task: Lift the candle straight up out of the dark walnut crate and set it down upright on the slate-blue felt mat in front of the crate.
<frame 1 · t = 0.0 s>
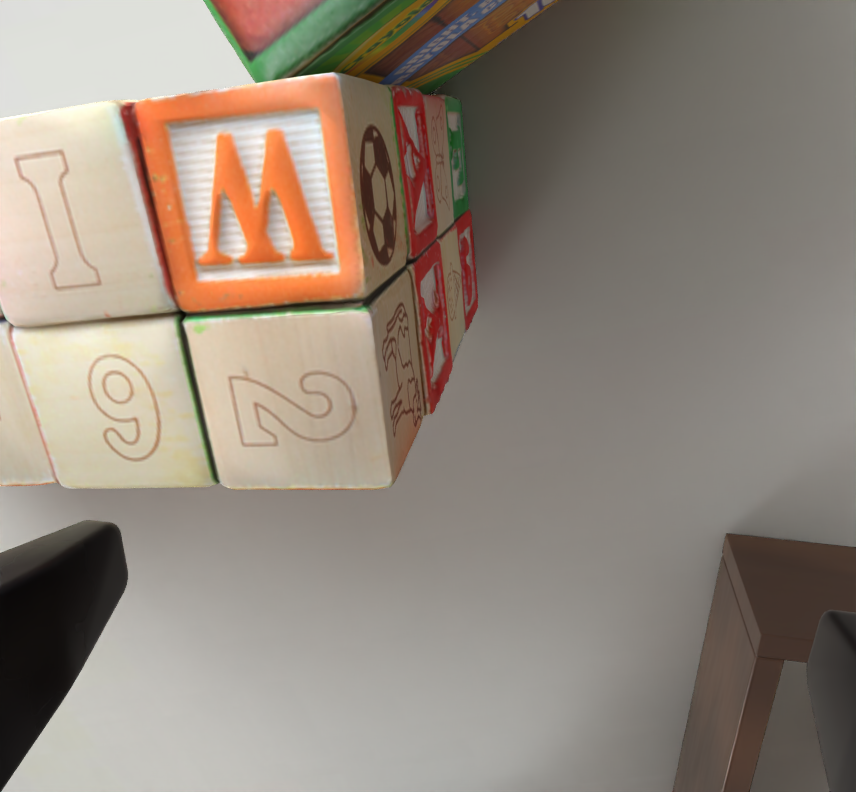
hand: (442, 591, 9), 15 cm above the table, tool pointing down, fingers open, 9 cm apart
stack of blocks: (157, 232, 24), on the table, touching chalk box
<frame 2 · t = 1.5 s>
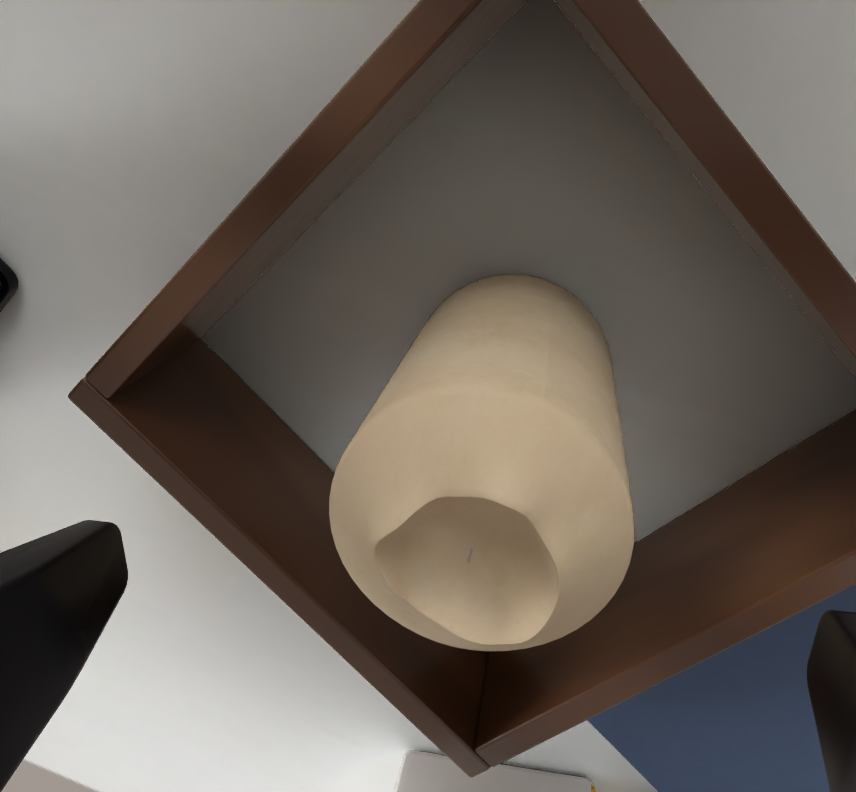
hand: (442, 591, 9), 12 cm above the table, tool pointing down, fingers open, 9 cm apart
candle: (512, 363, 21), resting in crate
crate: (512, 366, 21), on the table
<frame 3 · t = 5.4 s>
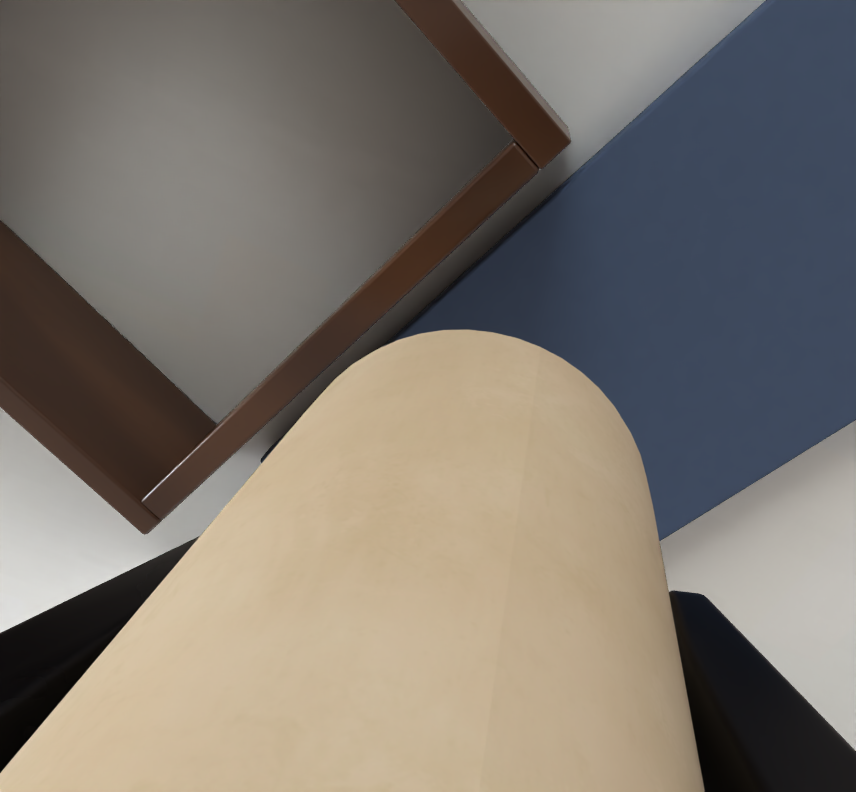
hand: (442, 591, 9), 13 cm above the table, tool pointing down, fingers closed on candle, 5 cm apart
candle: (468, 483, 12), point 10 cm above the table, touching gripper
mat: (606, 373, 21), on the table
crate: (184, 117, 20), on the table
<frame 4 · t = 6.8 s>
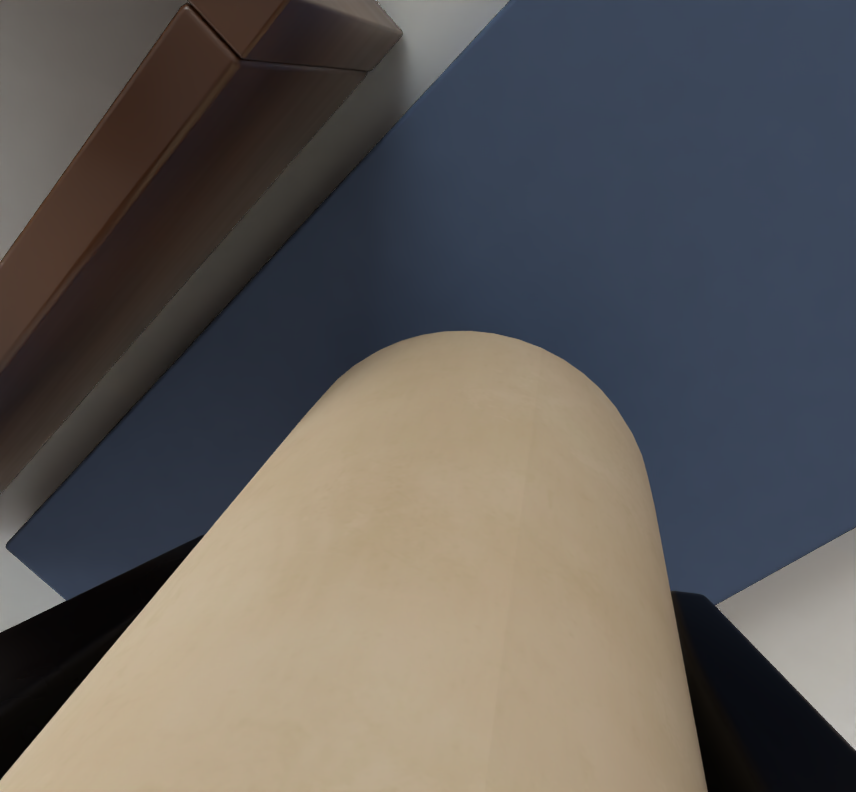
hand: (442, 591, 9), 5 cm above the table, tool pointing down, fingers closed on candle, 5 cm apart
candle: (470, 484, 12), point 2 cm above the table, touching gripper
mat: (492, 427, 14), on the table
when the fingers open (4 cm above the table, at t = 7.8 s): candle stays where it is, resting on mat.
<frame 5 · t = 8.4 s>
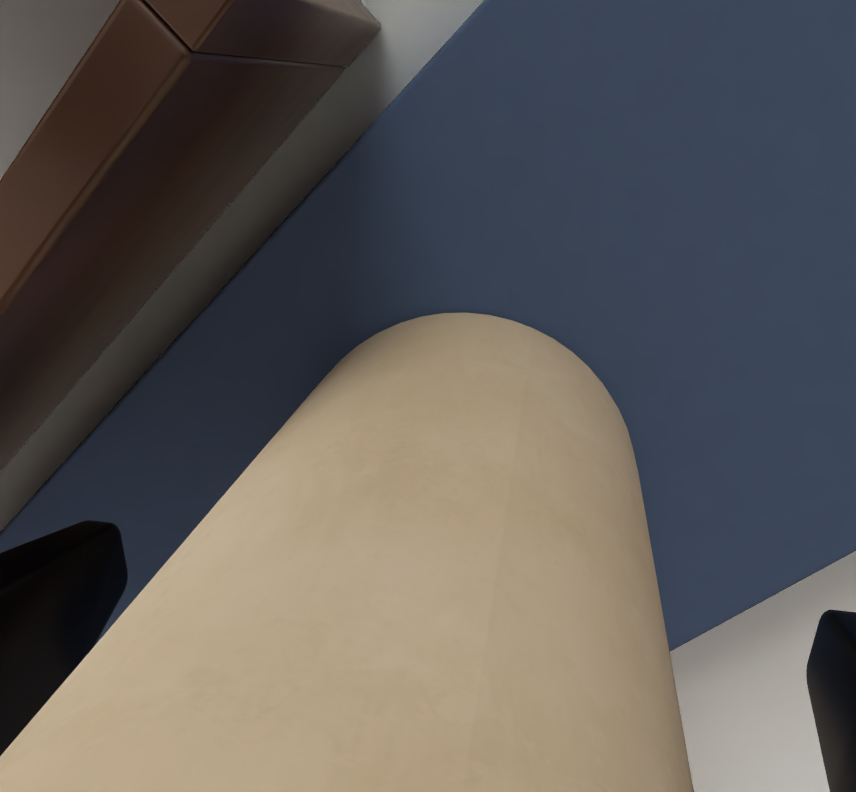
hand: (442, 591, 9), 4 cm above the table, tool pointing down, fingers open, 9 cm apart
candle: (467, 459, 12), point 1 cm above the table, touching mat
mat: (479, 441, 13), on the table
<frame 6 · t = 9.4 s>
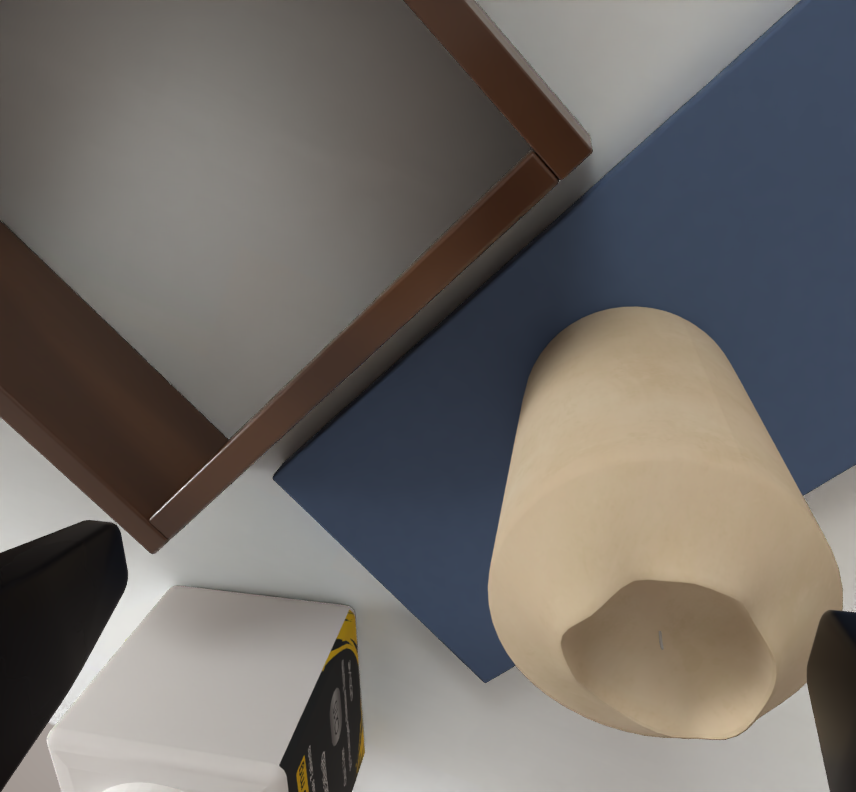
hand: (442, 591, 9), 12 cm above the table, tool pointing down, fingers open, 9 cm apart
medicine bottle: (273, 664, 27), on the table
candle: (626, 399, 20), point 1 cm above the table, touching mat
mat: (629, 390, 20), on the table
crate: (195, 128, 20), on the table
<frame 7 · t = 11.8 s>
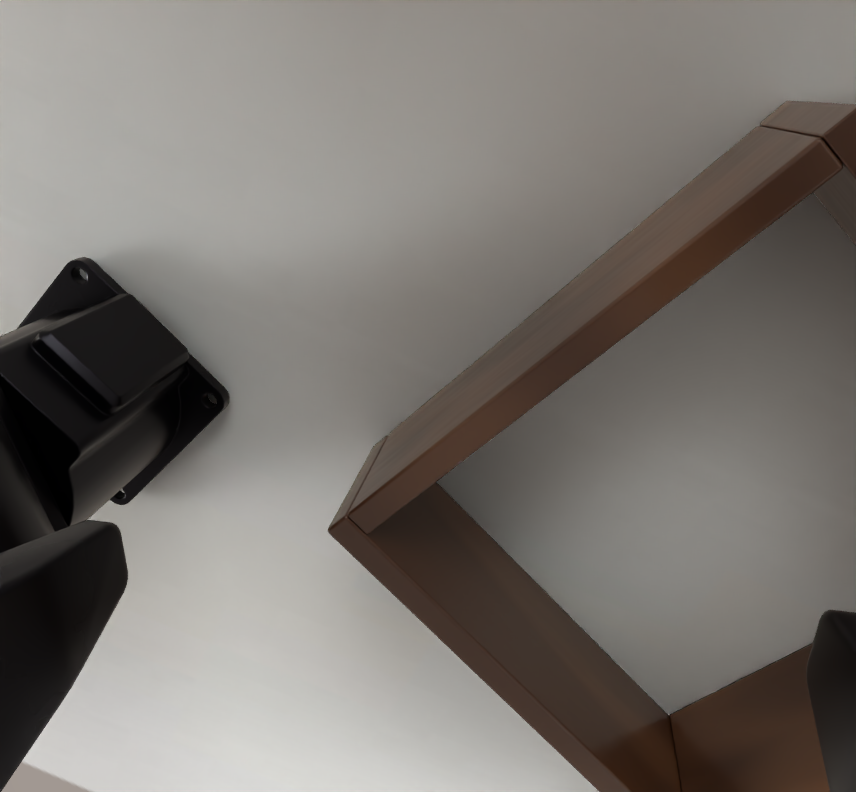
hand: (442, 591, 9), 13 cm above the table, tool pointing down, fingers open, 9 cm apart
crate: (713, 479, 22), on the table
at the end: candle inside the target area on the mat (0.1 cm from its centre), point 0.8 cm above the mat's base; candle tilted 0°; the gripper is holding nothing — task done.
